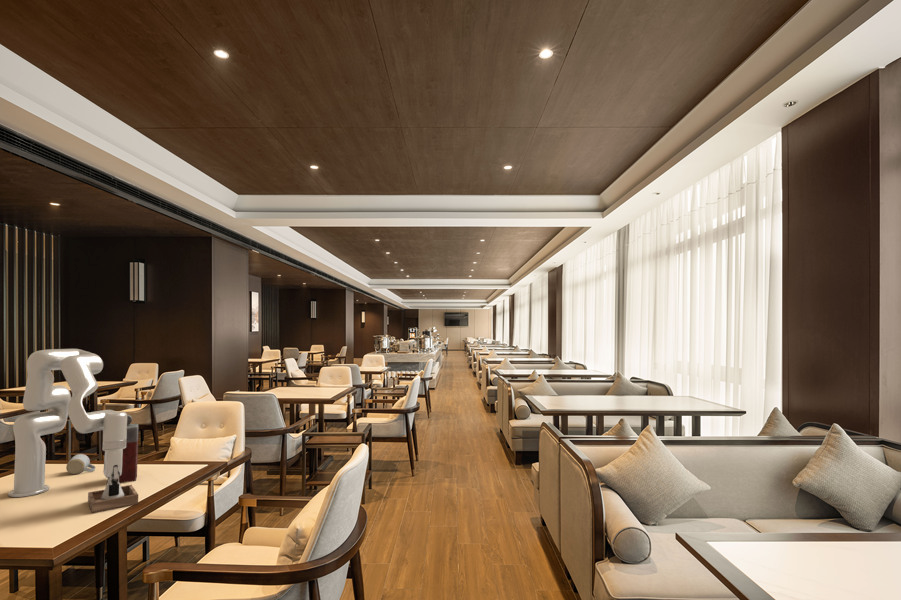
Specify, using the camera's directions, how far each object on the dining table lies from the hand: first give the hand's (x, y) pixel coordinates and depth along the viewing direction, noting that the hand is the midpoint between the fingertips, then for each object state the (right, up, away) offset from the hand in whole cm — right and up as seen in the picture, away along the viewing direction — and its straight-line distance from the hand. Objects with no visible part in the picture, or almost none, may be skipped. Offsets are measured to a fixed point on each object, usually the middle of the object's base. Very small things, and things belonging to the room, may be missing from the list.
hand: (112, 492), depth 187 cm
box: (0, -4, 0) cm, 4 cm away
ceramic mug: (-43, -7, +41) cm, 60 cm away
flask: (0, -2, 0) cm, 2 cm away
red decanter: (-15, -6, +30) cm, 34 cm away
